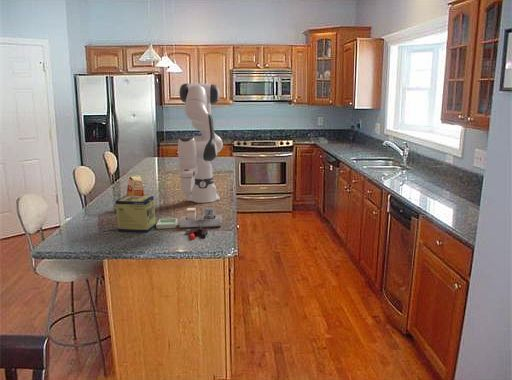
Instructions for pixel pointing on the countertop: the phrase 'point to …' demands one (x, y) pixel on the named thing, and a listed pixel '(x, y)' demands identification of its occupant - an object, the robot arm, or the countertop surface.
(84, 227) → the countertop surface
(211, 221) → the grey box with openings
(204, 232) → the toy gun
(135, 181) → the milk carton
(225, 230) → the countertop surface
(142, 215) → the protein box
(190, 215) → the plug
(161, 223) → the tray
